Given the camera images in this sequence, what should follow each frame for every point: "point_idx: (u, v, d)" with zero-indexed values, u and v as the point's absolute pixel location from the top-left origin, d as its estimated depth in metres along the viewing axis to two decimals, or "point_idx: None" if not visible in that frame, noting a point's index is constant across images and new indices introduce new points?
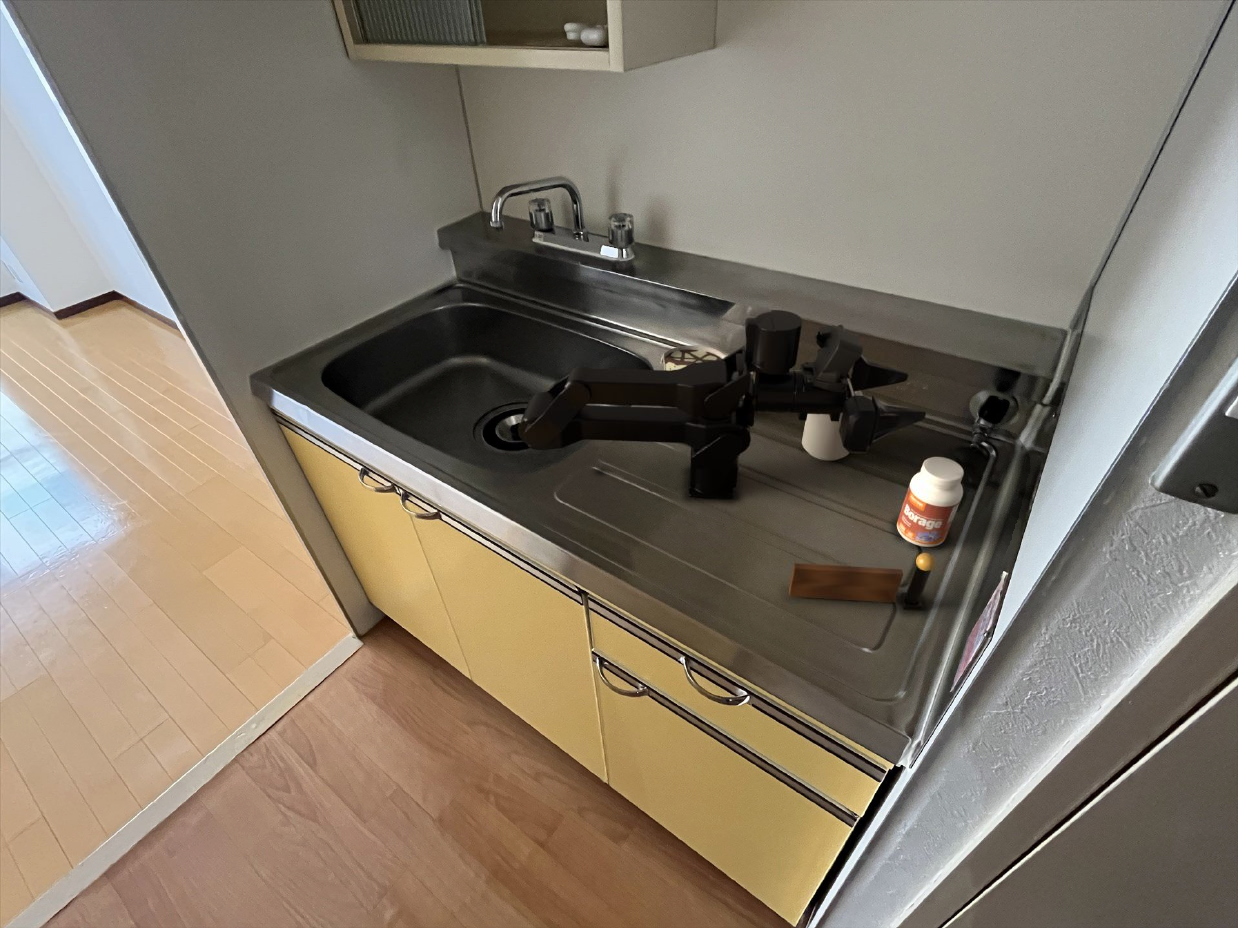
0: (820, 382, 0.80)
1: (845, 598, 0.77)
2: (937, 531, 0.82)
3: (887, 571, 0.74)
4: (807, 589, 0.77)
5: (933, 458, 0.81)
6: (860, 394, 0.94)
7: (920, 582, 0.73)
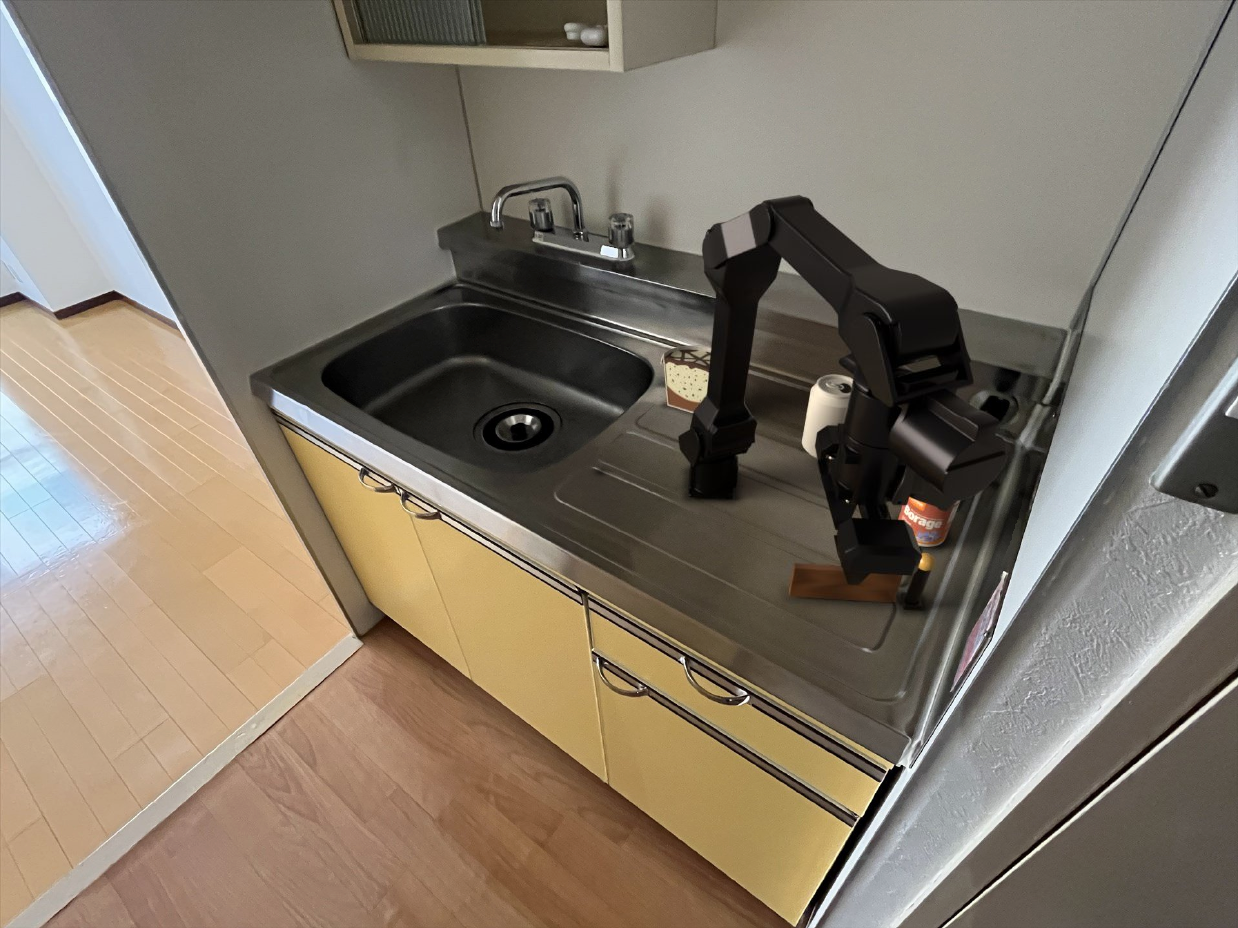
0: (913, 474, 0.56)
1: (845, 598, 0.77)
2: (937, 532, 0.82)
3: None
4: (807, 589, 0.77)
5: None
6: None
7: (920, 582, 0.73)
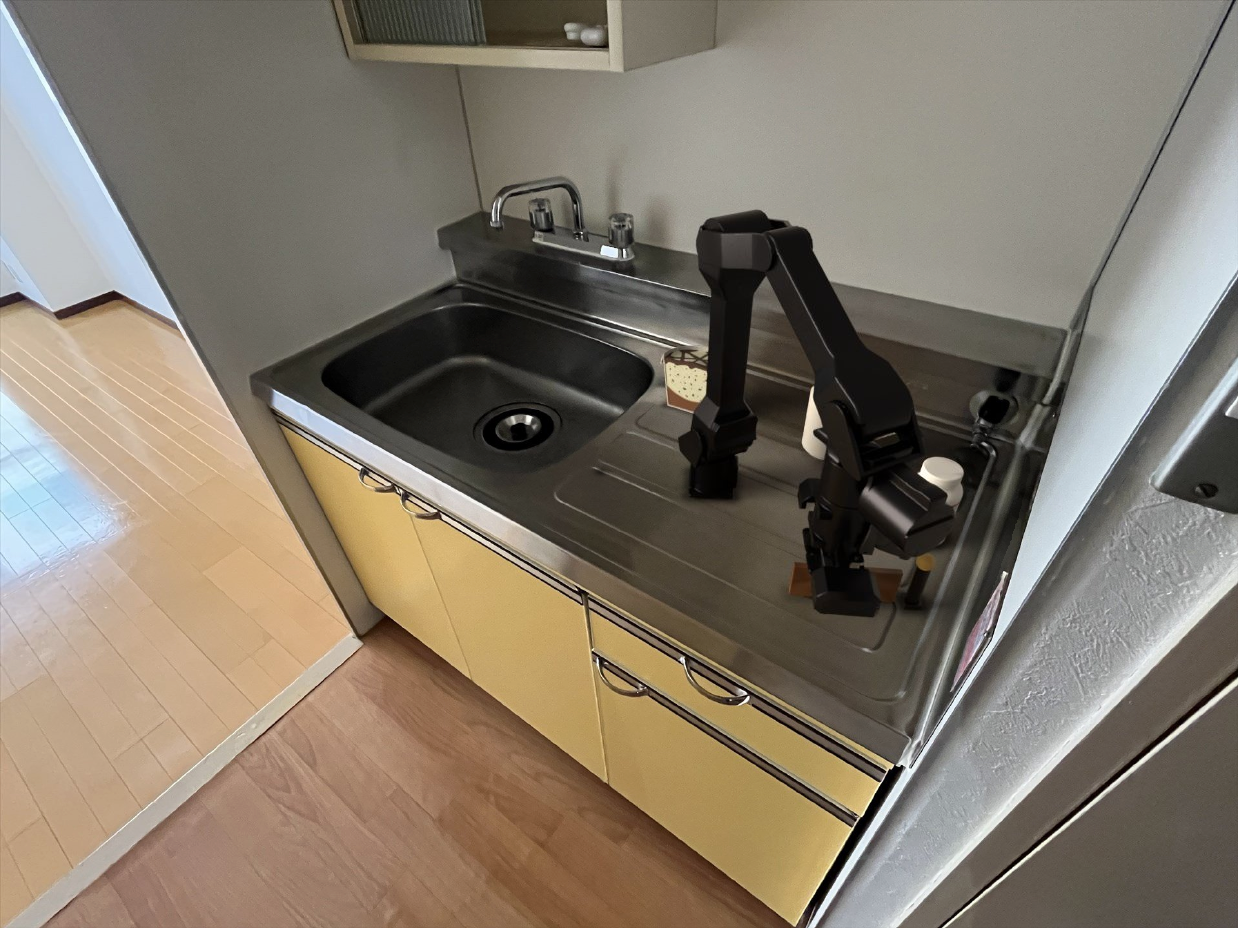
0: (877, 530, 0.65)
1: None
2: None
3: (887, 570, 0.74)
4: (807, 588, 0.77)
5: (933, 458, 0.81)
6: None
7: (920, 582, 0.73)
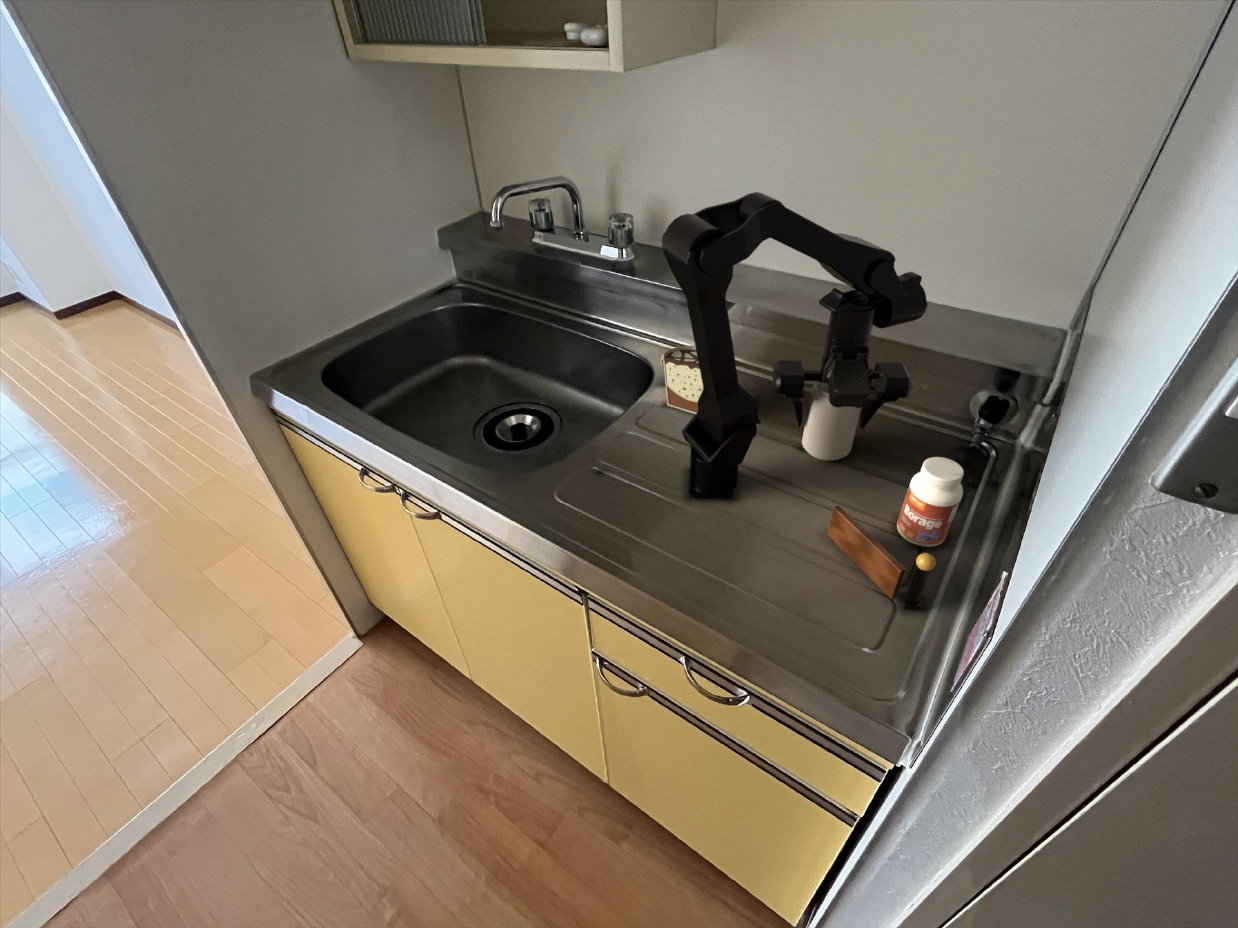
0: (829, 362, 0.89)
1: (860, 566, 0.81)
2: (937, 532, 0.82)
3: (892, 560, 0.75)
4: (838, 536, 0.84)
5: (933, 458, 0.81)
6: None
7: (920, 582, 0.73)
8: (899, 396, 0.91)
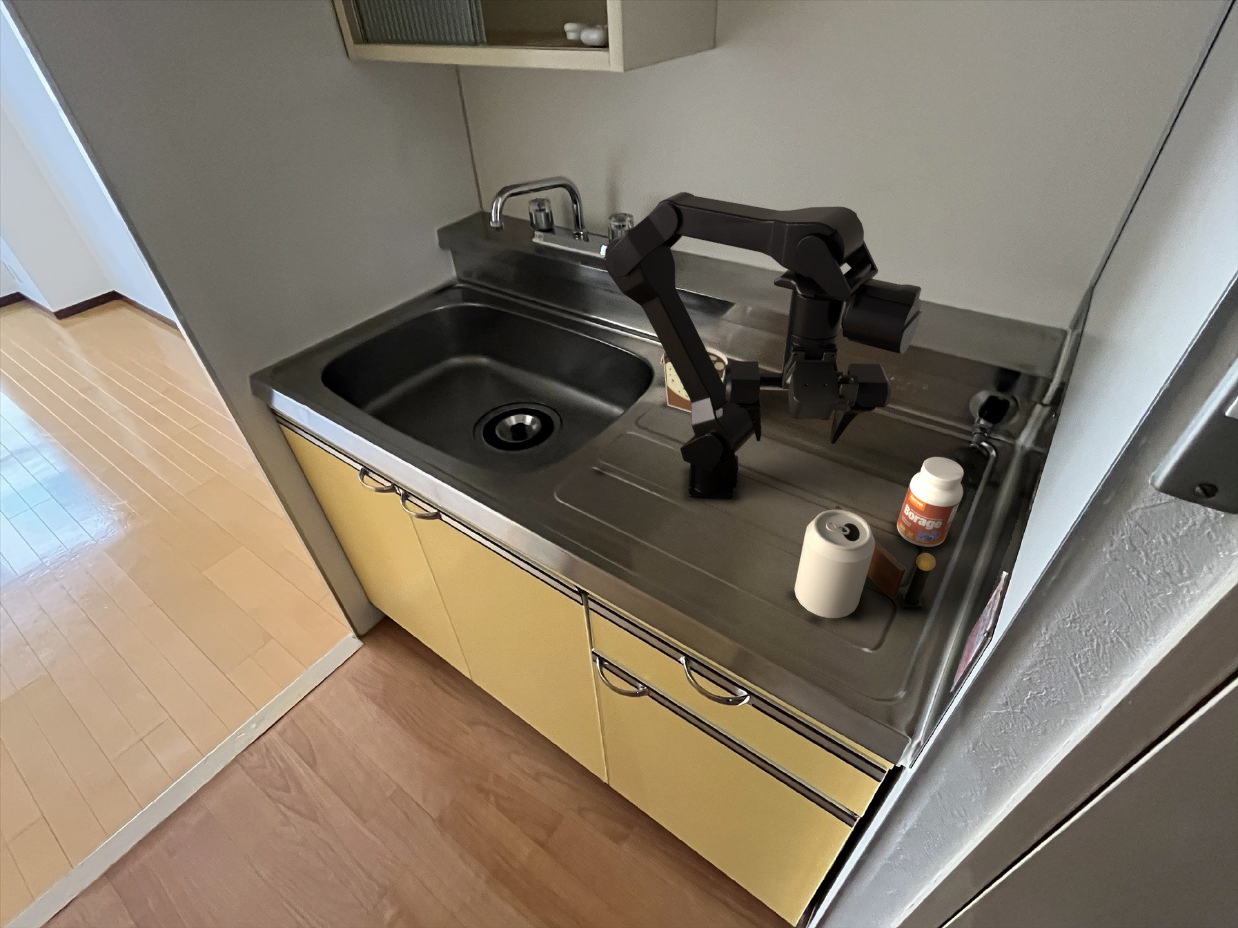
0: (789, 363, 0.72)
1: None
2: (937, 531, 0.82)
3: (892, 560, 0.75)
4: None
5: (933, 458, 0.81)
6: (871, 541, 0.70)
7: (920, 582, 0.73)
8: (876, 405, 0.74)
